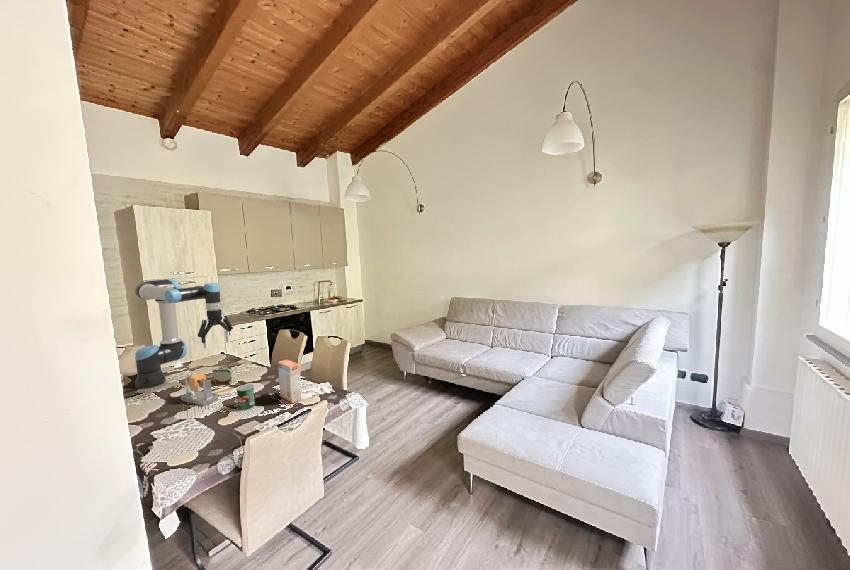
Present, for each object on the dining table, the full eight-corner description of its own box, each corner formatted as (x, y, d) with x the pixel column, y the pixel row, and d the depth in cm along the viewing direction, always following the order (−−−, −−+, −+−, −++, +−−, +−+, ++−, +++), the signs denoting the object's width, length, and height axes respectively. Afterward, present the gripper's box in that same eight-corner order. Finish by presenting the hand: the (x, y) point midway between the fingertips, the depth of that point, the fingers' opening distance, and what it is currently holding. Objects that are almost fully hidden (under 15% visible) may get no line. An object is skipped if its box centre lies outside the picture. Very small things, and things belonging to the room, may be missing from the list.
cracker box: (301, 400, 191) (299, 364, 188) (291, 404, 186) (289, 367, 184) (289, 393, 200) (287, 358, 198) (279, 396, 196) (277, 361, 193)
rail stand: (181, 399, 193) (179, 378, 192) (195, 394, 201) (193, 373, 199) (203, 406, 185) (201, 384, 183) (218, 400, 192) (216, 378, 191)
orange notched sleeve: (190, 390, 190) (188, 377, 189) (201, 386, 196) (199, 373, 195) (195, 391, 188) (194, 378, 187) (206, 387, 194) (205, 374, 193)
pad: (210, 393, 201) (210, 392, 201) (226, 386, 210) (226, 385, 210) (221, 396, 197) (221, 395, 197) (237, 389, 206) (237, 388, 206)
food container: (238, 381, 219) (237, 366, 218) (231, 385, 213) (230, 369, 211) (220, 380, 220) (218, 365, 219) (213, 384, 214) (211, 369, 213)
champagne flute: (185, 364, 251) (182, 332, 248) (179, 367, 244) (175, 334, 241) (176, 364, 251) (172, 332, 248) (169, 368, 244) (166, 335, 241)
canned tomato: (236, 411, 179) (234, 391, 178) (240, 404, 187) (238, 385, 185) (253, 409, 181) (251, 389, 180) (256, 402, 189) (254, 383, 187)
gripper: (196, 314, 188) (200, 351, 191) (237, 306, 211) (240, 339, 213) (187, 313, 191) (191, 350, 194) (229, 305, 214) (232, 338, 216)
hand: (217, 344), depth 203 cm, fingers open, 13 cm apart
